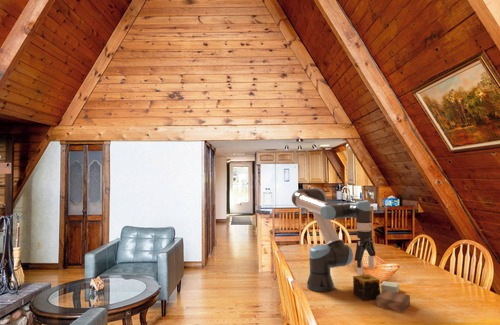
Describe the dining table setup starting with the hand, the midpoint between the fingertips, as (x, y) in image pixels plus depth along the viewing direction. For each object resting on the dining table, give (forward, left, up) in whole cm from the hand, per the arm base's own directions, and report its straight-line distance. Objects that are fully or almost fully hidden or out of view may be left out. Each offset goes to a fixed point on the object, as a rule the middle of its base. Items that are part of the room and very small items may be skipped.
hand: (365, 271), depth 175 cm
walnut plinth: (+15, -3, -14) cm, 20 cm away
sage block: (+6, +17, -14) cm, 23 cm away
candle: (0, 0, -14) cm, 14 cm away
